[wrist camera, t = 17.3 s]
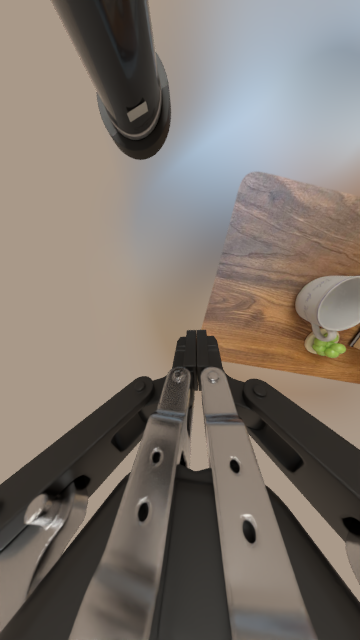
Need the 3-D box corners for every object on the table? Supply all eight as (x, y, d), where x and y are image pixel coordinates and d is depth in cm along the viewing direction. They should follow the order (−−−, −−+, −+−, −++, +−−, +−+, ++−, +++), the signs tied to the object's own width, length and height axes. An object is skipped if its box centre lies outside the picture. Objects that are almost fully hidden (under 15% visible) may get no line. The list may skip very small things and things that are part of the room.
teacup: (300, 270, 30) (338, 272, 22) (346, 277, 30) (399, 280, 23) (275, 325, 35) (299, 341, 28) (315, 331, 35) (349, 348, 28)
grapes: (301, 335, 36) (320, 346, 31) (334, 322, 34) (360, 331, 29) (307, 356, 38) (325, 369, 33) (338, 345, 37) (362, 358, 32)
